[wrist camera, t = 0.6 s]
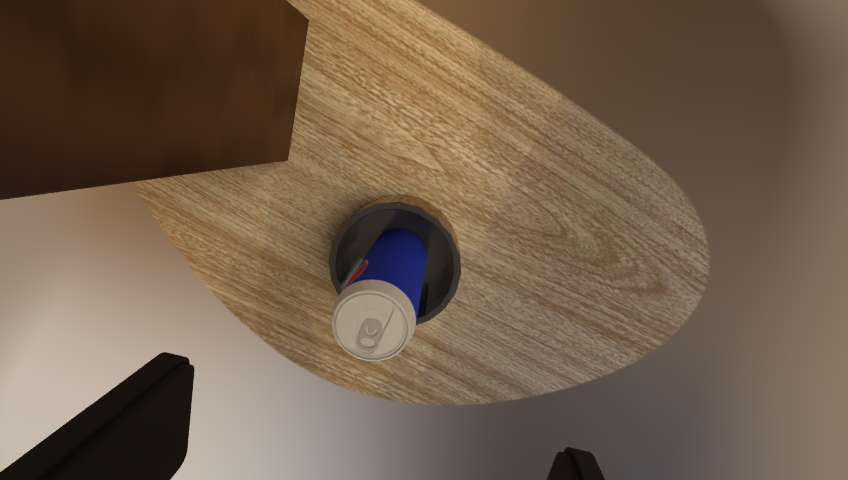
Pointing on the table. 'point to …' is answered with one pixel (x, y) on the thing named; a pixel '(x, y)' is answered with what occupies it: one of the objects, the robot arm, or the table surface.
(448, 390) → the table surface
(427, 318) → the bowl
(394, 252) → the beverage can
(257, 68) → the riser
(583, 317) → the table surface
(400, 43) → the table surface
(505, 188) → the table surface
